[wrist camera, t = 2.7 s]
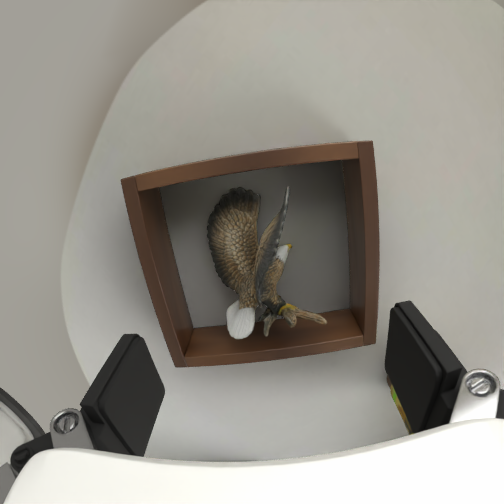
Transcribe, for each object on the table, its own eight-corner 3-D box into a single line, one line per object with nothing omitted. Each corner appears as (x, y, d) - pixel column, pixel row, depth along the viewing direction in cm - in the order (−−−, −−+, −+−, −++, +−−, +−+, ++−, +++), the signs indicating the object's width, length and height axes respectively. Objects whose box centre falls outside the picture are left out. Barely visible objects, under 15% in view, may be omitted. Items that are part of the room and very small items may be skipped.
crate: (185, 338, 25) (175, 367, 21) (143, 173, 20) (120, 179, 16) (361, 316, 24) (375, 343, 20) (352, 141, 19) (372, 140, 15)
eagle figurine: (344, 283, 21) (311, 168, 17) (310, 362, 17) (256, 234, 13) (259, 280, 26) (216, 186, 22) (214, 342, 21) (150, 241, 17)
